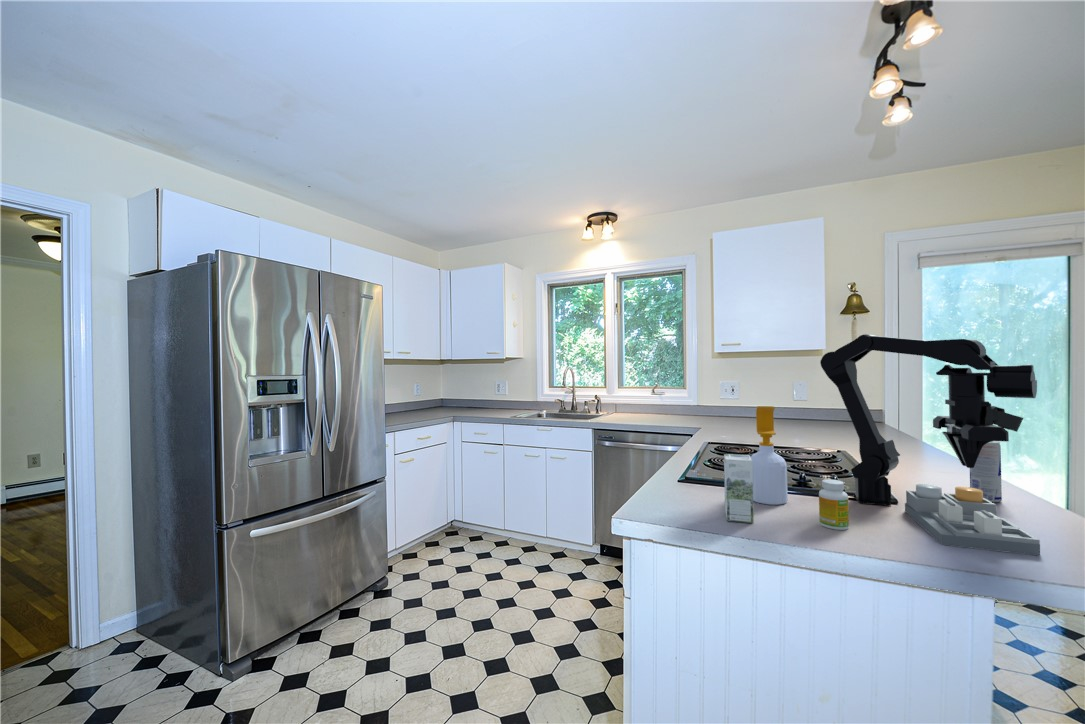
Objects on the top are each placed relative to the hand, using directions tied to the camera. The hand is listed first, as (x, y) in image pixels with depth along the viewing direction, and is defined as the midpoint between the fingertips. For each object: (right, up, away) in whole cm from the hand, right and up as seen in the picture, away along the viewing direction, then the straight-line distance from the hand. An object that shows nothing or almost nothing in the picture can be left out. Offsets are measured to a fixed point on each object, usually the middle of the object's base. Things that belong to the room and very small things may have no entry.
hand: (968, 466), depth 97 cm
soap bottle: (-35, -13, +18) cm, 41 cm away
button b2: (0, -8, 0) cm, 8 cm away
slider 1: (-8, -10, -5) cm, 14 cm away
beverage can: (+18, -12, +14) cm, 25 cm away
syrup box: (-48, -13, +5) cm, 50 cm away
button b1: (-6, -8, +3) cm, 11 cm away
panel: (-6, -12, -5) cm, 14 cm away
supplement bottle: (-30, -13, -1) cm, 33 cm away
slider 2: (-8, -10, -12) cm, 17 cm away
